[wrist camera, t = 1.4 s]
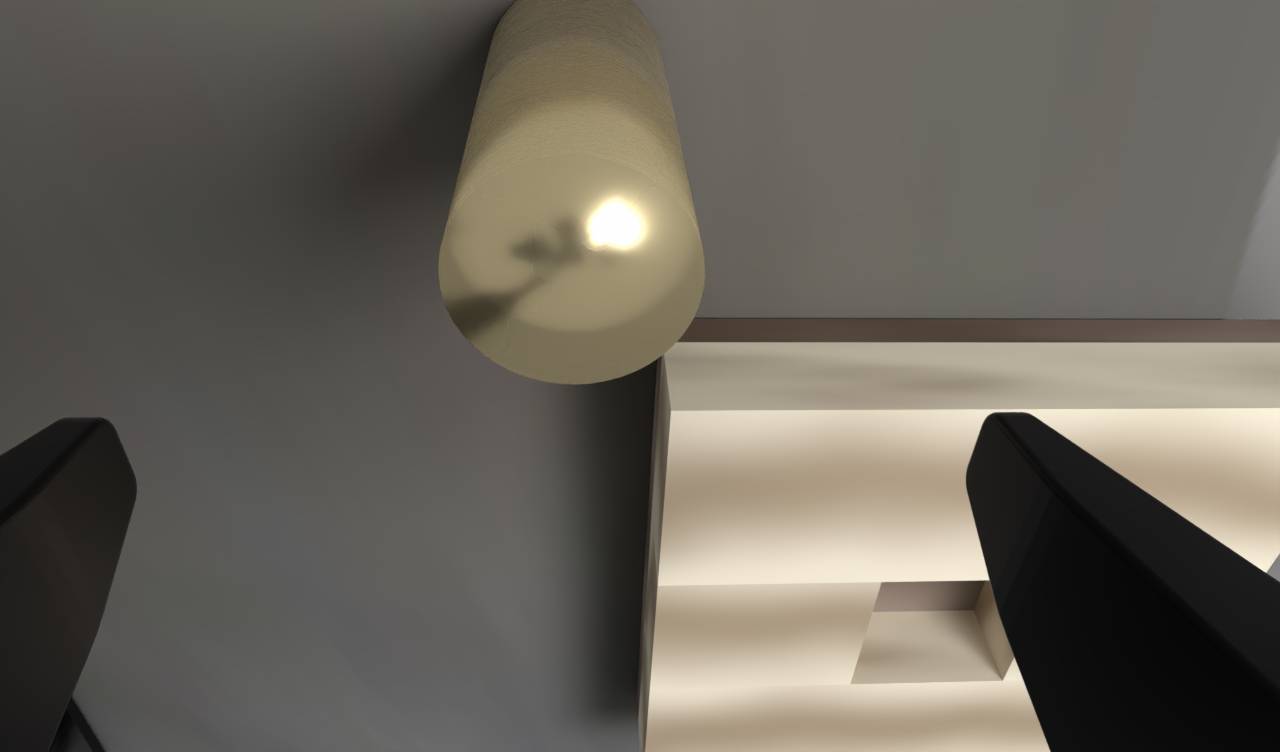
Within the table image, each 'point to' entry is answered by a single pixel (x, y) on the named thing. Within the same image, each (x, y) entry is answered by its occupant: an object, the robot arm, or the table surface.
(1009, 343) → the jig plate
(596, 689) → the table surface
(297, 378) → the table surface
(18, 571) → the robot arm
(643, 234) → the brass pin
